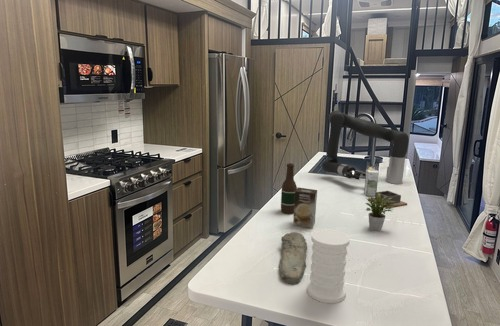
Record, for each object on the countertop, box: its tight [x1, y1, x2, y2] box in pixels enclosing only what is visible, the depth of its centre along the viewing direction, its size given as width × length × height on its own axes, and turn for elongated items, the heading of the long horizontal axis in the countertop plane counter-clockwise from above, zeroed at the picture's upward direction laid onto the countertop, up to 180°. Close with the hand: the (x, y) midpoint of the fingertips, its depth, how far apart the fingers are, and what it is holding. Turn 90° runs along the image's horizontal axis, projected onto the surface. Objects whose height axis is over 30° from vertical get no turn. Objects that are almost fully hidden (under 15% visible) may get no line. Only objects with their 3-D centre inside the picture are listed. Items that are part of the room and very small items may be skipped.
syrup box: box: [363, 169, 379, 197], centre depth 202 cm, size 6×6×14 cm
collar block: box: [369, 190, 408, 209], centre depth 191 cm, size 14×14×6 cm
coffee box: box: [292, 186, 318, 229], centre depth 157 cm, size 9×6×16 cm
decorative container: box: [306, 228, 350, 304], centre depth 106 cm, size 12×12×18 cm
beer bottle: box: [280, 162, 298, 215], centre depth 172 cm, size 8×8×24 cm
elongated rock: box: [279, 231, 308, 285], centre depth 128 cm, size 35×5×10 cm
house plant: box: [364, 191, 398, 232], centre depth 154 cm, size 14×14×16 cm
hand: (364, 177), depth 207 cm, fingers open, 8 cm apart
